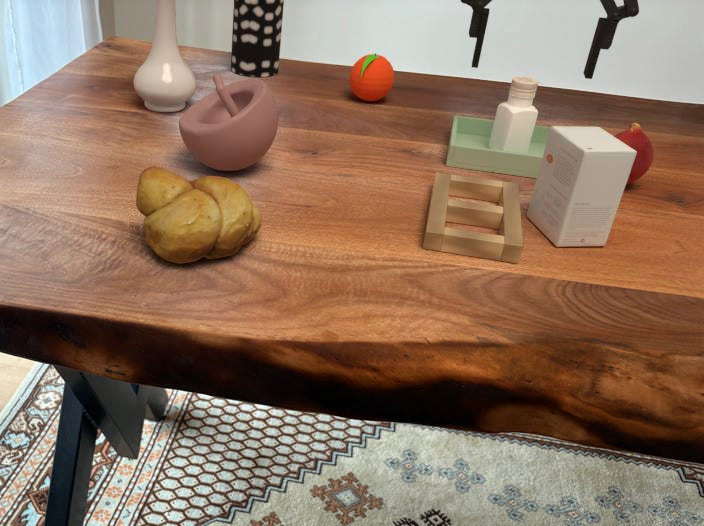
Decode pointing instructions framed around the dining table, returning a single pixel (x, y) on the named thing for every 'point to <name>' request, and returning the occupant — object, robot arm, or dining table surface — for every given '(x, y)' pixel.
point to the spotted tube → (256, 37)
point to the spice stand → (475, 218)
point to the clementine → (371, 77)
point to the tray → (475, 154)
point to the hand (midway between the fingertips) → (530, 70)
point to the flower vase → (164, 66)
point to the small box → (580, 185)
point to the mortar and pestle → (231, 125)
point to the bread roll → (195, 215)
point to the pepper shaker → (515, 118)
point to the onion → (641, 145)
